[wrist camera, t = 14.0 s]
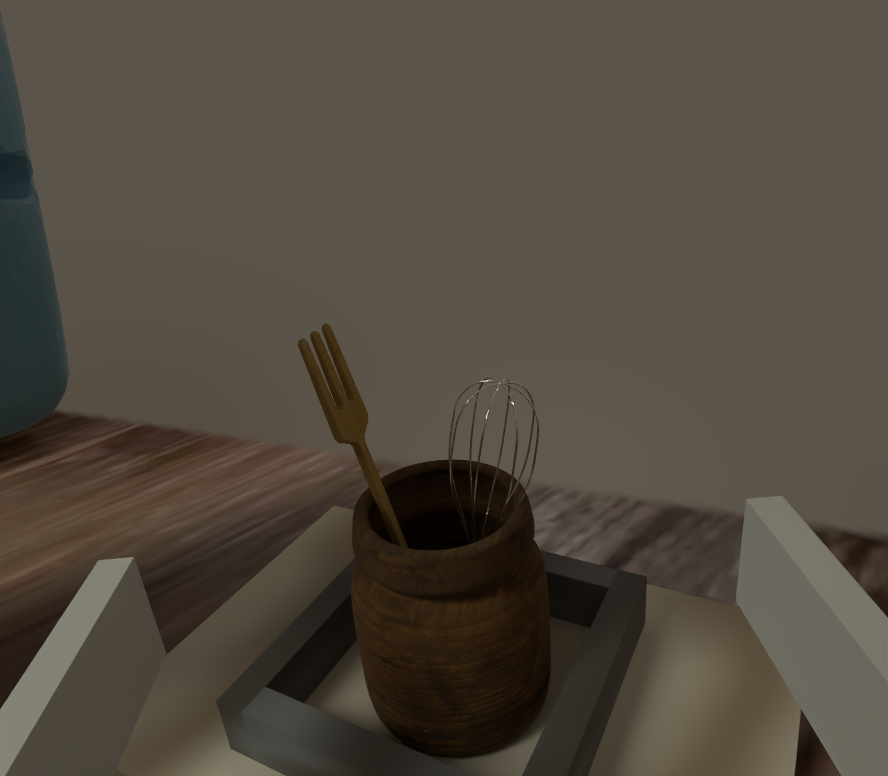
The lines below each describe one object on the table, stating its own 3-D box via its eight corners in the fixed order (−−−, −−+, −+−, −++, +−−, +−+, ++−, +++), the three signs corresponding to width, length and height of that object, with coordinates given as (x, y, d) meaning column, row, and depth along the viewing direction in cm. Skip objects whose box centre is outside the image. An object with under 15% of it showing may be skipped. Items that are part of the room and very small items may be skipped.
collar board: (78, 763, 22) (47, 695, 21) (337, 522, 33) (327, 468, 32) (753, 1161, 13) (770, 1082, 12) (805, 647, 24) (816, 577, 23)
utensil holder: (525, 792, 19) (500, 395, 14) (326, 733, 21) (245, 374, 17) (571, 638, 24) (565, 304, 19) (405, 604, 26) (361, 297, 22)
